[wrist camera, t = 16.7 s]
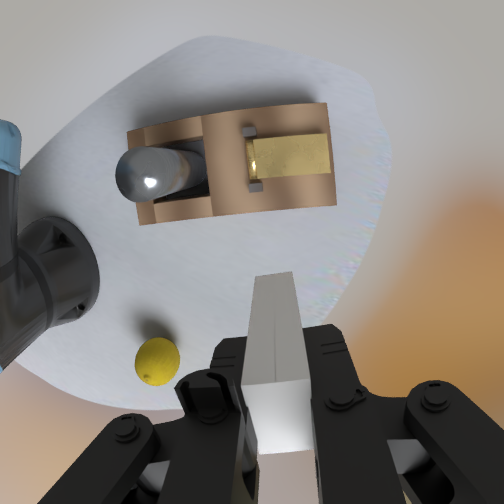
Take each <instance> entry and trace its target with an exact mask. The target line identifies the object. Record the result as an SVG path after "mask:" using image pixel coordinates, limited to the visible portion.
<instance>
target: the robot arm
mask: <svg viewBox="0 0 504 504" xmlns="http://www.w3.org/2000/svg"><path fill="white" fill-rule="evenodd" d="M20 153H21V133H20V131H19V129H18V128H17V126H16V125H14V124H13V123H11V122H8V121H5V120H1V119H0V373H1V372H2V371H3V370H4V369H5V368H6V367H7V366H8V365H9V364H10V363H11V362H12V361H13V360H14V359H15V358H16V357H17V356H18V355H19V354H21V353H22V352H23V351H24V350H25V349H26V348H27V347H28V346H29V345H30V344H31V343H32V342H33V341H35V340H36V339H37V338H38V337H39V336H40V335H41V334H42V333H43V332H45V331H46V330H47V329H48V328H51V327H54V326H58V325H62V324H65V323H69V322H73V321H75V320H77V319H79V318H81V317H82V316H83V315H84V314H85V313H87V312H88V311H89V310H90V309H91V308H92V307H93V305H94V304H95V302H96V299H97V296H98V293H99V283H100V281H99V271H98V266H97V262H96V259H95V256H94V253H93V251H92V249H91V247H90V245H89V243H88V242H87V240H86V239H85V237H84V236H83V235H82V234H81V232H80V231H79V230H78V229H77V228H76V227H75V226H73V225H72V224H71V223H69V222H68V221H66V220H64V219H61V218H58V217H47V218H43V219H40V220H37V221H35V222H33V223H31V224H30V225H28V226H27V227H26V228H25V229H24V230H23V231H22V232H21V233H20V234H19V235H18V236H17V203H18V183H19V175H21V170H20ZM174 389H175V391H176V394H177V396H178V399H179V401H180V403H181V405H182V408H183V410H184V412H185V415H184V417H182V418H180V419H177V420H174V421H170V422H165V423H161V424H155V425H153V424H152V423H151V422H150V420H149V419H148V418H147V417H145V416H143V415H142V414H135V413H130V414H124V415H121V416H119V417H117V418H115V419H113V420H112V421H111V422H110V423H109V424H107V426H106V427H105V428H104V429H103V430H102V431H101V433H99V434H98V436H97V437H96V438H95V439H94V440H93V441H92V442H91V444H90V445H89V446H88V447H87V448H86V449H85V450H84V451H83V453H82V454H81V455H80V456H79V457H78V458H77V459H76V461H75V462H74V463H73V464H72V465H71V466H70V467H69V468H68V470H67V471H66V472H65V473H64V474H63V475H62V476H61V477H60V479H59V480H58V481H57V482H56V483H55V484H54V486H52V488H51V489H50V490H49V491H48V492H47V493H46V494H45V495H44V497H43V498H42V499H41V500H40V501H39V502H38V503H37V504H258V490H259V472H260V470H259V466H258V462H257V446H258V449H259V453H260V454H271V453H283V452H293V451H302V450H310V449H314V451H315V463H316V464H315V466H316V478H317V487H318V498H319V504H406V501H405V497H404V494H403V491H404V492H405V493H406V495H407V497H408V498H409V500H410V501H411V502H412V504H504V430H503V429H502V428H501V427H500V426H499V425H498V424H497V423H495V422H494V421H493V420H492V419H491V418H490V417H489V416H488V415H487V414H486V413H485V412H484V411H482V410H481V409H480V408H479V407H478V406H477V405H476V404H475V403H473V401H471V400H470V399H469V398H468V397H467V396H466V395H465V394H464V393H462V392H461V391H460V390H459V389H458V388H456V387H455V386H454V385H452V384H450V383H448V382H444V381H440V380H433V381H426V382H423V383H421V384H418V385H417V386H416V387H414V388H413V389H412V390H411V391H410V393H409V395H408V396H407V397H396V398H395V397H394V398H392V397H381V396H377V395H374V394H372V393H370V392H369V391H368V389H367V388H366V387H364V386H362V385H361V383H360V381H359V378H358V376H357V373H356V370H355V367H354V364H353V362H352V359H351V356H350V354H349V351H348V348H347V345H346V343H345V340H344V337H343V335H342V332H341V331H340V330H339V329H338V328H337V327H335V326H334V325H333V324H327V325H321V326H315V327H308V328H302V324H301V318H300V313H299V307H298V301H297V296H296V290H295V285H294V280H293V274H292V272H285V273H278V274H270V275H263V276H256V277H255V283H254V291H253V298H252V306H251V313H250V321H249V328H248V336H245V337H236V338H225V339H223V340H222V341H221V342H220V343H219V344H218V345H217V346H216V347H215V350H214V353H213V357H212V360H211V364H210V369H204V370H198V371H195V372H193V373H190V374H188V375H186V376H185V377H184V378H182V379H181V380H179V382H178V383H177V385H176V386H175V387H174ZM402 489H403V490H402Z"/></svg>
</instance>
